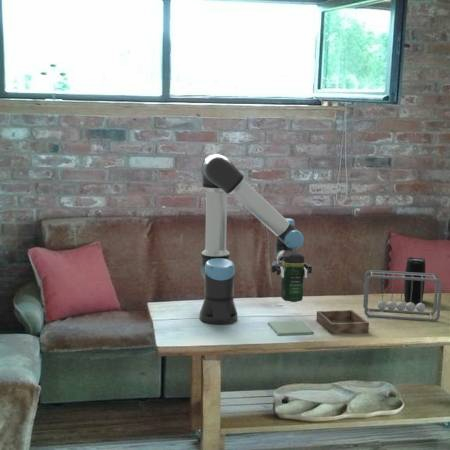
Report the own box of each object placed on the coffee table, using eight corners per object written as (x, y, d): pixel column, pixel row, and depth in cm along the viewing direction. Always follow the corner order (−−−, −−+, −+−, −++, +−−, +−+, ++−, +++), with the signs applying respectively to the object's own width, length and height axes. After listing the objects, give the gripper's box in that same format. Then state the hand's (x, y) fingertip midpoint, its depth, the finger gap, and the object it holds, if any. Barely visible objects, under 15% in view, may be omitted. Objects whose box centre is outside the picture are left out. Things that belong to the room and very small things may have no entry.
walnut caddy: (331, 334, 262) (331, 324, 261) (316, 320, 279) (316, 311, 278) (368, 332, 265) (369, 322, 265) (351, 319, 282) (352, 309, 281)
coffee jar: (304, 302, 261) (306, 254, 258) (284, 302, 260) (286, 254, 257) (298, 295, 271) (300, 249, 268) (278, 296, 270) (280, 249, 267)
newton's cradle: (435, 314, 292) (438, 273, 289) (439, 322, 282) (442, 279, 279) (362, 310, 296) (365, 269, 293) (364, 317, 286) (366, 275, 283)
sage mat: (277, 335, 259) (277, 333, 259) (267, 323, 273) (267, 322, 273) (313, 333, 262) (313, 331, 262) (301, 322, 276) (302, 320, 276)
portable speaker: (423, 299, 315) (426, 257, 311) (422, 305, 306) (426, 261, 302) (403, 297, 317) (406, 255, 314) (402, 303, 308) (406, 259, 305)
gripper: (312, 270, 282) (321, 284, 260) (261, 269, 282) (266, 283, 259) (313, 252, 281) (322, 264, 259) (261, 251, 280) (267, 263, 258)
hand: (294, 274), depth 259 cm, fingers closed on coffee jar, 8 cm apart
